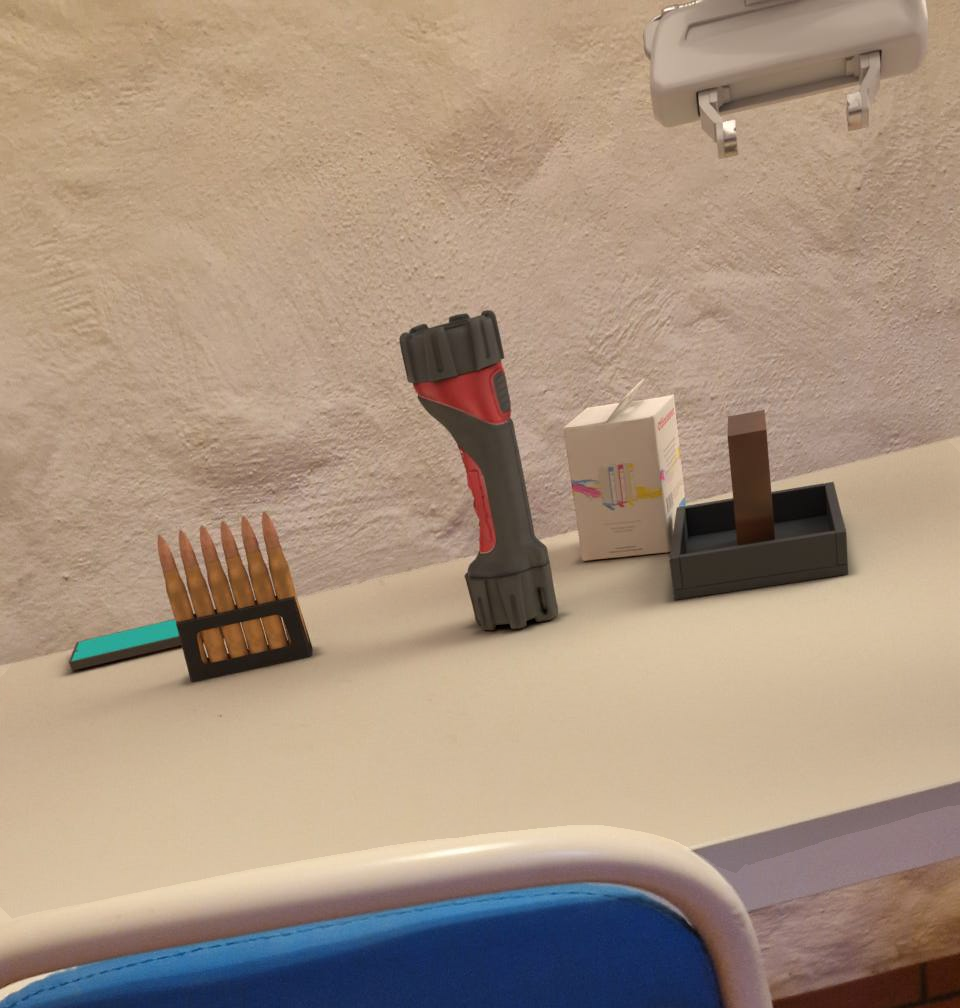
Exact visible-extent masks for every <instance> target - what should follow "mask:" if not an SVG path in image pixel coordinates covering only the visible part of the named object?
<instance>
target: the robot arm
mask: <svg viewBox="0 0 960 1008" xmlns="http://www.w3.org/2000/svg"><path fill="white" fill-rule="evenodd" d="M660 12H661V13H660V14H658V15H656V16H654V17H653V18H652V19H651V20H650V21H648V22H647V23H646V24H645V26H644V28H643V29H644V30H643V35H642V38H643V51H644V54H645V56H646V58H647V59H648V60H649V91H650V100H651V107H652V113H653V117H654V119H655V121H657V122H658V123H659V124H660V125H662V126H663V127H664V128H673V127H677V126H678V127H679V126H682V125H687V124H690V123H691V124H692V123H695V122H700V125H701V130H702V131H704V133H705V134H706V135H707V136H708V137H709V138H710V139H711V140H712V141H713V142H714V143H716V147H717V159H718V161H719V160H724V159H728V158H732V157H736V156H739V151H738V149H739V148H738V136H737V125H736V124H737V123H736V119H735V118H734V119H730V120H724V119H723V116H727V115H733V114H735V113H740V112H745V111H749V110H754V109H758V108H762V107H767V106H772V105H776V104H781V103H785V102H789V101H793V100H798V99H803V98H807V97H812V96H815V95H820V94H825V93H829V92H833V91H837V90H843V89H847V88H851V87H855V86H856V87H857V86H859V88H858V90H857V91H853V92H851V93H847V94H846V101H845V102H846V108H845V111H846V113H845V114H846V122H847V132H850V131H856V130H861V129H865V128H866V129H867V128H869V122H870V107H871V105H872V104H873V101H874V99H875V98H876V96H877V94H878V92H879V91H880V89H881V81H883V80H886V79H891V78H896V77H901V76H906V75H910V74H913V73H916V72H917V71H918V70H919V68H920V67H921V66H922V64H923V62H925V60H926V59H927V58H926V57H927V54H928V45H929V27H930V25H929V14H928V13H929V12H928V6H927V1H926V0H691V1H689V2H686V3H682V4H679V3H676V4H671V5H667V6H666V7H663V8H662V9H661V10H660Z"/></svg>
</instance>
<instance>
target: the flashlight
mask: <svg viewBox="0 0 960 1008" xmlns="http://www.w3.org/2000/svg"><path fill="white" fill-rule="evenodd" d="M398 341H399V346H400V352H401V356H402V361H403V366H404V370H405V374H406V380H407V382H408V383H410V384H412V387H413V389H414V392H415V393H416V394H417V400H418V402H419V403H420V404H421V407H423V409H424V410H425V411H426V412H427V413H428V414H429V415H430V416H431V417H432V418H433V419H434V420H436V421H437V422H438V423H439V424H440V425H442V426H443V427H444V428H445V429H446V430H447V431H448V433H449V434H450V435H451V437H452V438H453V440H454V441H455V443H456V445H457V448H458V450H459V454H460V456H461V462H462V463H463V466H464V469H465V473H466V482H467V487H468V488H469V490H470V491H471V494H472V497H473V503H472V507H473V509H474V511H475V513H476V516H477V518H478V520H479V521H478V526H479V533H478V534H479V537H478V541H479V547H478V553H477V555H476V557H475V558H474V559H473V560H472V561H471V562H470V563H469V564H468V567H467V572H466V573H464V579H465V583H466V587H467V591H468V594H469V598H470V603H471V606H472V610H473V615H474V619H475V623H477V624H478V625H480V627H481V628H482V629H483V630H485V631H495V630H496V629H497V625H509V626H510V628H511V629H512V630H517V629H522V628H525V627H527V622H528V621H530V620H533V619H534V620H535V622H536V623H541V622H547V621H551V620H554V618H556V617H557V616H558V614H559V608H558V607H559V606H558V601H557V597H556V591H555V585H554V578H553V572H552V567H551V566H552V565H551V561H550V556H549V550H548V547H547V546H546V544H544V543H543V542H542V541H541V540H539V539H538V537H536V533H535V528H534V523H533V517H532V513H531V507H530V502H529V496H528V491H527V485H526V480H525V475H524V469H523V465H522V460H521V459H522V458H521V454H520V453H521V452H520V449H519V445H518V439H517V434H516V430H515V424H514V421H513V419H512V418H511V417H512V406H511V405H512V402H511V396H510V394H509V393H510V392H509V386H508V381H507V376H506V373H505V369H504V367H503V363H502V360H503V359H504V360H505V353H504V348H503V344H502V338H501V333H500V328H499V323H498V320H497V316H496V313H495V312H494V311H493V310H489V309H485V310H482V311H481V313H480V314H479V315H476V316H474V317H470V315H469V314H468V313H466V312H463V313H459V314H455V315H450V316H449V317H448V322H446V323H443V324H438V325H434V326H432V327H429V326H428V324H427V323H421V324H418V325H415V326H413V327H411V328H410V329H409V330H408V332H407V331H405V332H403V333H401V334H400V336H399V340H398Z"/></svg>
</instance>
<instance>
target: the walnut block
mask: <svg viewBox="0 0 960 1008" xmlns="http://www.w3.org/2000/svg"><path fill="white" fill-rule="evenodd" d="M768 444H769V443H768V430H767V420H766V411H765V409H762V410H757V411H751V412H745V413H740V414H734V415H729V416H727V449H728V456H729V457H728V458H729V469H730V481H731V489H732V490H731V492H732V498H733V502H734V513H735V524H736V534H737V545H738V546H739V545H746V544H752V543H759V542H765V541H771V540H775V532H774V519H773V506H772V493H771V492H772V481H771V471H770V469H771V468H770V457H769V455H770V454H769V445H768Z"/></svg>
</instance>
